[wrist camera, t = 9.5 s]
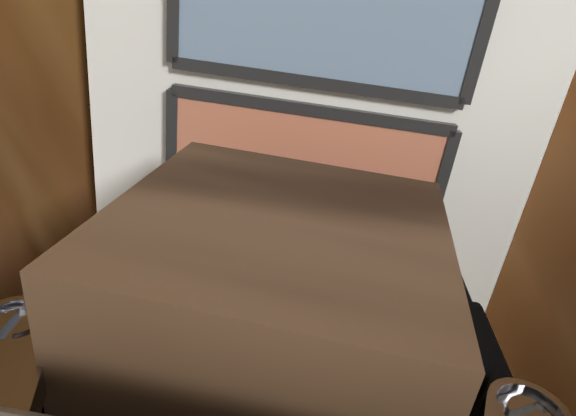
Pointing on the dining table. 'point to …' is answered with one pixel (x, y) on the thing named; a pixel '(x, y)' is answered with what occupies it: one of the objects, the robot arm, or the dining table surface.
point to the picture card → (341, 95)
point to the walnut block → (256, 296)
